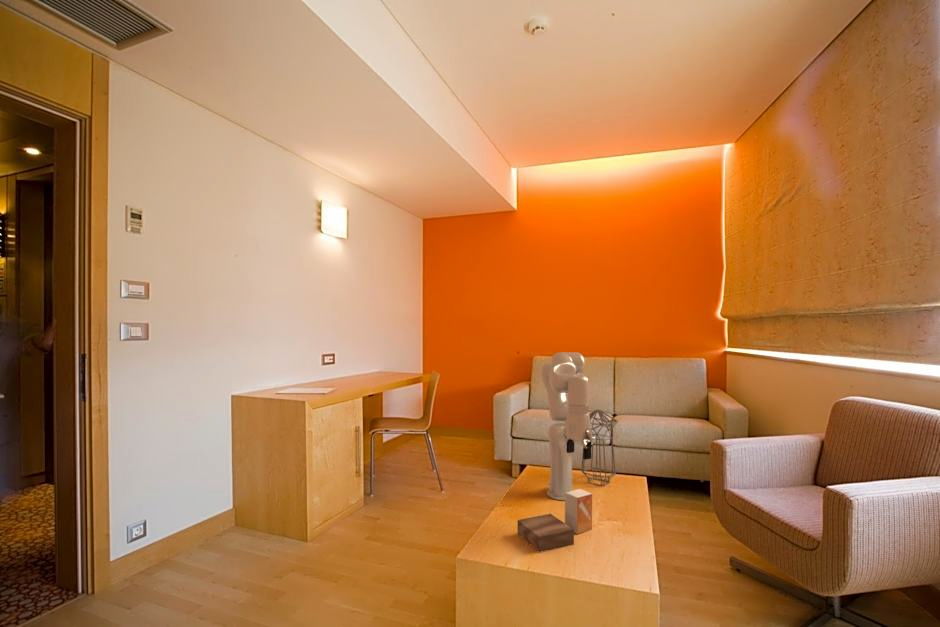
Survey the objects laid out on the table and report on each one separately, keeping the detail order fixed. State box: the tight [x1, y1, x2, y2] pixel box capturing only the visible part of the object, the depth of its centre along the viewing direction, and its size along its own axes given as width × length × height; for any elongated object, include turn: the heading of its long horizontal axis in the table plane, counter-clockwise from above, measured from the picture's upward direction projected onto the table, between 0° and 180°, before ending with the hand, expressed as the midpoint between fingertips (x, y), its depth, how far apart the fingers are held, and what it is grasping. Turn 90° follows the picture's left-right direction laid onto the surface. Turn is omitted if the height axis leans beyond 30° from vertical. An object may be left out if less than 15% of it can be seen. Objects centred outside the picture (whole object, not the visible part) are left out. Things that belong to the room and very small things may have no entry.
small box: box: [564, 488, 593, 535], centre depth 159 cm, size 8×6×13 cm
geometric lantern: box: [580, 409, 620, 487], centre depth 211 cm, size 16×16×35 cm
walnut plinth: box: [517, 513, 575, 553], centre depth 151 cm, size 14×14×5 cm
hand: (578, 455), depth 160 cm, fingers open, 9 cm apart
